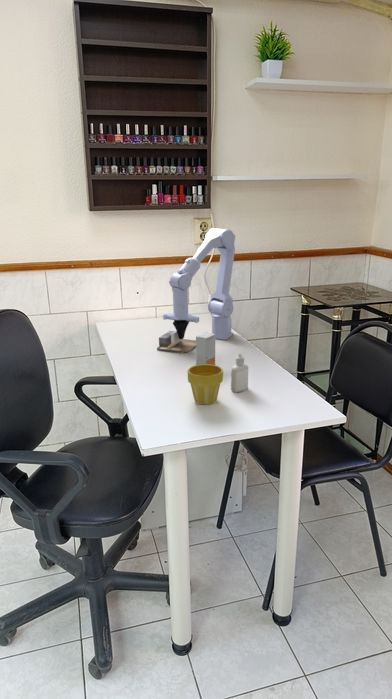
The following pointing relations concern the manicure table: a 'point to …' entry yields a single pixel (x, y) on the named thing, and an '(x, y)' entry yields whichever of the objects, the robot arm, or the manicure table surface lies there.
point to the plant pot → (205, 382)
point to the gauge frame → (180, 347)
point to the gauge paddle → (174, 338)
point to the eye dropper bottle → (239, 375)
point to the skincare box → (205, 349)
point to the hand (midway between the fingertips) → (181, 338)
